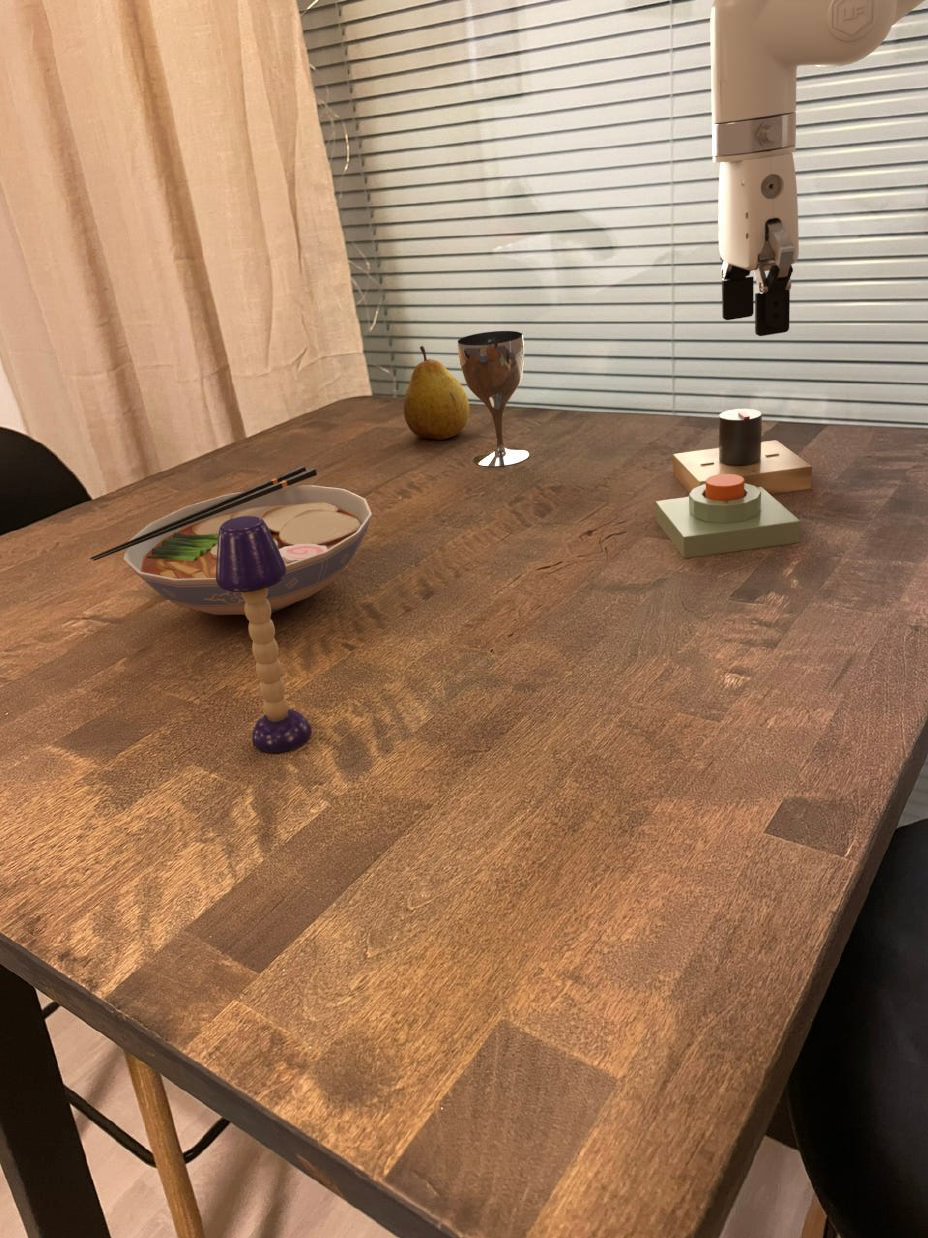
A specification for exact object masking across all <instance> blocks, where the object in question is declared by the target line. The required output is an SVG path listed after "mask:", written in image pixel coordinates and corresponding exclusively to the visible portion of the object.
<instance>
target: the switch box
mask: <svg viewBox="0 0 928 1238" xmlns="http://www.w3.org/2000/svg"><path fill="white" fill-rule="evenodd" d="M654 504H655V522H656V523H657V525H658V526H659V527H660V529H661V530H662V531H663V533H664V534H665V536H667V538H668V539H669V541H670V542H671V543H672V545H673V546H674V547H675V548H676V550H677V551H678V552H679V554H680V555H681V556H682V558H683V559H690V558H697V557H705V556H713V555H719V554H726V553H733V552H742V551H749V550H756V549H763V548H770V547H777V546H783V545H791V544H798V543H800V540H801V539H800V538H801V537H800V536H801V535H800V534H801V520H800V519H799V518H798V517H796V516H795V515H794V514H793V513H792V512H791V511H790V510H788V509H787V508H786V506H784V505H783V504H782V503H780V501H778V499H776V498H775V497H774V496H772V494H769V493H768V492H767V491H766V490H765V489H763V488H762V487H755V486H753V485H750V484H746V483H744V497H743V498H740V499H737V500H730V501H716V500H711V499H707V498H706V484H703V485H701V486H698V487H696V488H694V489H693V490H692V491H691V493H689V494H688V496H684V497H677V498H669V499H661V500H656V501H655V503H654Z"/></svg>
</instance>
